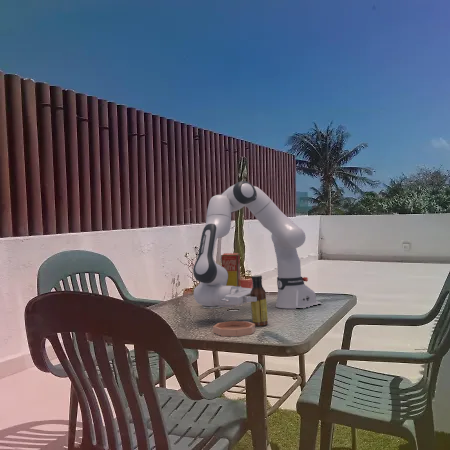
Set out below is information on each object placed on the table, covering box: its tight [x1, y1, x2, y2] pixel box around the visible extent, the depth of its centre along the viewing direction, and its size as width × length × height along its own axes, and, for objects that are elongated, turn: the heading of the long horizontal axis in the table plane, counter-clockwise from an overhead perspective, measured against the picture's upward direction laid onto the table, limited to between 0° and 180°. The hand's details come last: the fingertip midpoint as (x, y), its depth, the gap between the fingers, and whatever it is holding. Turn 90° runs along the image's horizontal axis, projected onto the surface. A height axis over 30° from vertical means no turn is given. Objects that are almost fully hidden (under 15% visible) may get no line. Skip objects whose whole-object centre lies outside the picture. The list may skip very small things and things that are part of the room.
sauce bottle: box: [250, 274, 269, 327], centre depth 194 cm, size 6×6×20 cm
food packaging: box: [220, 252, 242, 287], centre depth 256 cm, size 13×9×25 cm
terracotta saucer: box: [212, 320, 256, 337], centre depth 184 cm, size 15×15×2 cm
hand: (260, 297), depth 194 cm, fingers closed on sauce bottle, 6 cm apart
